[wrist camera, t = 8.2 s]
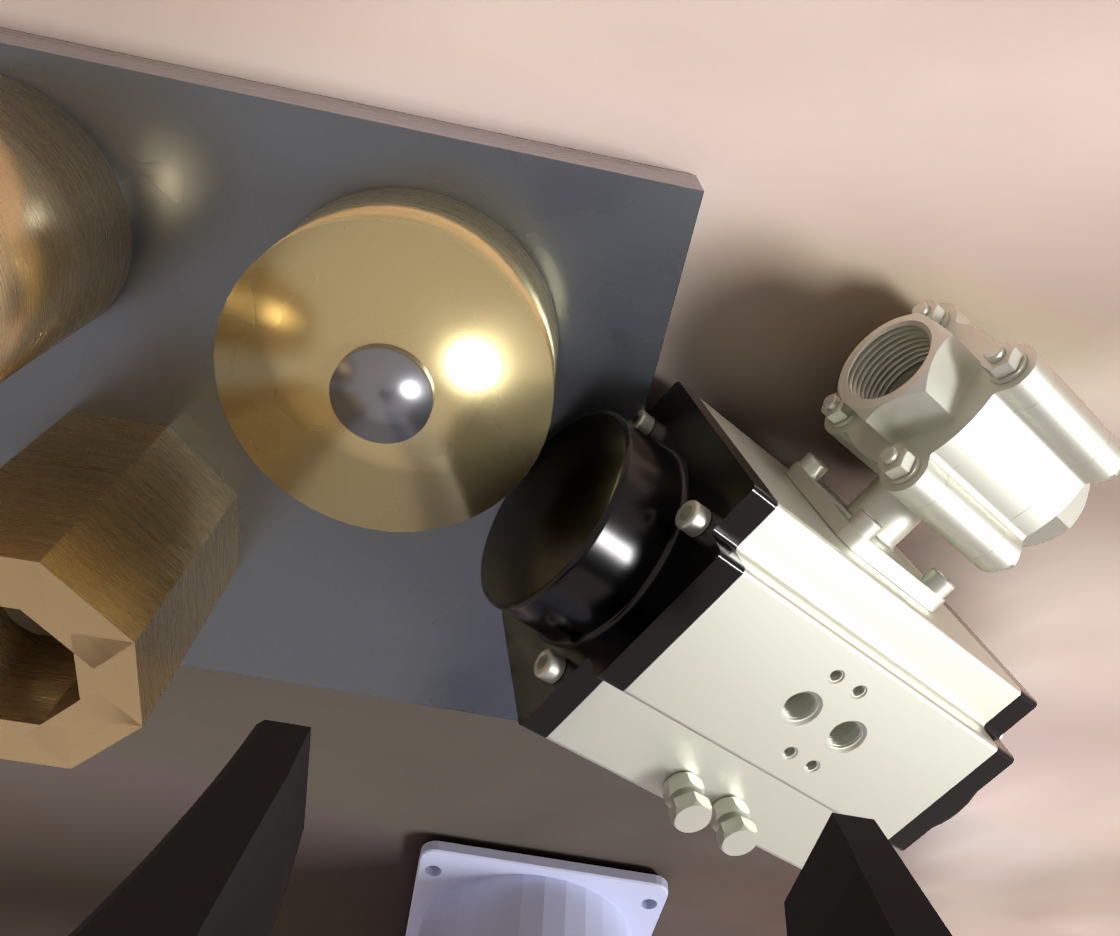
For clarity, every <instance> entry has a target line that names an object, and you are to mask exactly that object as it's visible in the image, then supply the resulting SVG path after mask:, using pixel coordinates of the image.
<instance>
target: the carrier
mask: <svg viewBox="0 0 1120 936" xmlns="http://www.w3.org/2000/svg"><path fill="white" fill-rule="evenodd" d="M703 193H704V190H703V188H702V186H701V185H700V183H699V181H698V179H697V177H696V175H692V174H688V173H683V172H678V171H673V170H669V169H664V168H659V167H655V166H650V165H645V164H640V163H636V162H631V161H626V160H622V159H617V158H612V157H608V156H603V155H598V154H593V153H589V152H584V151H579V150H575V149H570V148H565V147H560V146H556V145H551V144H546V143H542V142H537V141H532V140H528V139H523V138H518V137H513V136H509V135H504V134H499V133H495V132H490V131H485V130H480V129H476V128H471V127H466V126H462V125H457V124H452V123H448V122H443V121H438V120H433V119H429V118H424V117H419V116H415V115H410V114H405V113H400V112H396V111H391V110H386V109H382V108H377V107H372V106H368V105H363V104H358V103H353V102H349V101H344V100H339V99H335V98H330V97H325V96H320V95H316V94H311V93H306V92H302V91H297V90H292V89H288V88H283V87H278V86H273V85H269V84H264V83H259V82H255V81H250V80H245V79H240V78H236V77H231V76H226V75H222V74H217V73H212V72H208V71H203V70H198V69H193V68H189V67H184V66H179V65H175V64H170V63H165V62H160V61H156V60H151V59H146V58H142V57H137V56H132V55H128V54H123V53H118V52H113V51H109V50H104V49H99V48H95V47H90V46H85V45H80V44H76V43H71V42H66V41H62V40H57V39H52V38H48V37H43V36H38V35H33V34H29V33H24V32H19V31H15V30H10V29H5V28H0V466H1V465H2V464H3V463H5V462H6V461H7V460H8V459H10V458H11V457H12V456H13V455H15V454H16V453H17V452H18V451H20V450H21V449H22V448H24V447H25V446H26V445H27V444H29V443H30V442H31V441H32V440H34V439H35V438H36V437H37V436H39V435H40V434H41V433H43V432H44V431H45V430H46V429H48V428H49V427H50V426H51V425H53V424H54V423H55V422H57V421H58V420H59V419H60V418H62V417H63V416H64V415H65V414H67V413H68V412H69V411H70V410H75V411H81V412H87V413H93V414H99V415H104V416H110V417H116V418H122V419H128V420H134V421H140V422H146V423H152V424H158V425H164V426H169V427H170V428H171V429H172V430H173V431H174V432H175V433H176V434H177V435H178V436H179V437H180V438H181V439H182V440H183V441H184V442H185V443H186V444H187V445H188V446H189V447H190V448H191V449H192V450H193V451H194V452H195V453H196V454H197V455H198V456H199V457H200V458H201V459H202V460H203V461H204V462H205V463H206V464H207V465H208V466H209V467H210V468H211V469H212V470H214V471H215V472H216V473H217V474H218V475H219V476H220V477H221V478H222V479H223V480H224V481H225V482H226V483H227V484H228V485H229V486H230V487H231V488H232V489H233V490H234V491H235V492H236V493H237V494H238V559H239V568H238V569H237V571H236V573H235V574H234V576H233V578H232V579H231V581H230V583H229V584H228V586H227V588H226V589H225V591H224V593H223V594H222V596H221V598H220V599H219V601H218V603H217V604H216V606H215V608H214V609H213V611H212V612H211V614H210V616H209V617H208V619H207V621H206V622H205V624H204V626H203V627H202V629H201V631H200V632H199V634H198V636H197V637H196V639H195V641H194V642H193V644H192V646H191V647H190V649H189V651H188V652H187V654H186V655H185V657H184V659H183V660H182V662H181V664H180V665H186V666H192V667H198V668H204V669H210V670H216V671H222V672H228V673H234V674H240V675H246V676H252V677H258V678H264V679H270V680H276V681H282V682H288V683H294V684H300V685H306V686H312V687H318V688H324V689H330V690H336V691H342V692H348V693H354V694H360V695H366V696H372V697H378V698H384V699H390V700H396V701H402V702H408V703H414V704H420V705H426V706H432V707H438V708H444V709H450V710H456V711H462V712H468V713H474V714H480V715H486V716H492V717H498V718H504V719H510V720H516V721H518V715H517V709H516V702H515V696H514V689H513V683H512V676H511V670H510V663H509V657H508V650H507V644H506V637H505V631H504V624H503V618H502V611H501V610H499V609H498V608H496V607H494V606H493V605H492V604H491V603H490V602H489V601H488V599H487V598H486V596H485V595H484V592H483V589H482V585H481V561H482V555H483V550H484V547H485V543H486V539H487V537H488V534H489V531H490V528H491V526H492V523H493V521H494V518H495V516H496V514H497V512H498V510H499V508H500V506H501V504H502V502H503V500H504V498H505V497H506V496H507V495H508V494H509V493H510V492H511V491H512V490H514V489H515V488H516V486H517V485H518V484H519V483H520V482H521V481H522V480H523V478H524V477H525V476H526V475H527V474H528V472H529V470H530V469H531V467H532V466H533V464H534V463H535V461H536V460H537V458H538V456H539V453H540V451H541V449H542V447H543V446H544V445H545V444H546V443H547V442H548V441H549V440H550V439H551V438H552V437H553V436H555V435H556V434H557V433H558V432H559V431H561V430H562V429H563V428H565V427H566V426H567V425H569V424H570V423H572V422H573V421H575V420H577V419H578V418H580V417H582V416H585V415H587V414H590V413H593V412H597V411H612V412H615V413H617V414H619V415H621V416H623V417H624V418H625V419H627V420H628V421H630V420H631V421H632V422H633V423H634V424H635V423H636V422H637V420H638V418H639V415H637V413H638V412H639V411H640V410H645V406H646V403H647V399H648V395H649V392H650V388H651V384H652V381H653V377H654V373H655V370H656V366H657V362H658V359H659V355H660V351H661V347H662V344H663V340H664V336H665V333H666V329H667V325H668V322H669V318H670V314H671V311H672V307H673V303H674V300H675V296H676V292H677V289H678V285H679V281H680V278H681V274H682V270H683V267H684V263H685V259H686V256H687V252H688V248H689V245H690V241H691V237H692V234H693V230H694V226H695V223H696V219H697V215H698V211H699V208H700V204H701V200H702V197H703ZM4 609H5V611H6V612H7V614H8V615H9V616H10V618H11V619H12V620H13V621H15V622H16V623H17V624H18V625H20V626H21V627H23V628H24V629H26V630H28V631H31V632H33V633H36V634H40V635H47V636H52V635H51V634H50V633H48V632H47V631H46V630H45V629H43V628H42V627H41V626H40V625H38V624H37V623H36V622H35V621H33V620H32V619H31V618H30V617H29V616H27V615H26V614H25V613H24V612H22V611H21V610H20V609H14V608H7V607H4Z"/></svg>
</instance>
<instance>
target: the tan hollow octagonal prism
mask: <svg viewBox="0 0 1120 936" xmlns="http://www.w3.org/2000/svg"><path fill="white" fill-rule="evenodd" d="M238 568H239V559H238V494H237V493H236V492H235V491H234V490H233V489H232V488H231V487H230V486H229V485H228V484H227V483H226V482H225V481H224V480H223V479H222V478H221V477H220V476H219V475H218V474H217V473H216V472H215V471H214V470H212V469H211V468H210V467H209V466H208V465H207V464H206V463H205V462H204V461H203V460H202V459H201V458H200V457H199V456H198V455H197V454H196V453H195V452H194V451H193V450H192V449H191V448H190V447H189V446H188V445H187V444H186V443H185V442H184V441H183V440H182V439H181V438H180V437H179V436H178V435H177V434H176V433H175V432H174V431H173V430H172V429H171V428H170V427H169V426H164V425H158V424H152V423H146V422H140V421H134V420H128V419H122V418H116V417H110V416H104V415H99V414H93V413H87V412H81V411H75V410H70V411H69V412H68V413H67V414H65V415H64V416H63V417H62V418H60V419H59V420H58V421H57V422H55V423H54V424H53V425H51V426H50V427H49V428H48V429H46V430H45V431H44V432H43V433H41V434H40V435H39V436H37V437H36V438H35V439H34V440H32V441H31V442H30V443H29V444H27V445H26V446H25V447H24V448H22V449H21V450H20V451H18V452H17V453H16V454H15V455H13V456H12V457H11V458H10V459H8V460H7V461H6V462H5V463H3V464H2V465H1V466H0V759H7V760H14V761H21V762H28V763H35V764H42V765H49V766H56V767H63V768H70V769H71V768H73V767H75V766H76V765H78V764H80V763H82V762H83V761H85V760H87V759H88V758H90V757H92V756H93V755H95V754H97V753H99V752H100V751H102V750H104V749H105V748H107V747H109V746H110V745H112V744H114V743H115V742H117V741H119V740H121V739H122V738H124V737H126V736H127V735H129V734H131V733H132V732H134V731H136V730H138V729H139V728H141V727H143V725H144V723H145V722H146V720H147V718H148V717H149V715H150V713H151V712H152V710H153V708H154V707H155V705H156V703H157V702H158V700H159V698H160V697H161V695H162V694H163V692H164V690H165V689H166V687H167V685H168V684H169V682H170V680H171V679H172V677H173V675H174V674H175V672H176V670H177V669H178V667H179V665H180V664H181V662H182V660H183V659H184V657H185V655H186V654H187V652H188V651H189V649H190V647H191V646H192V644H193V642H194V641H195V639H196V637H197V636H198V634H199V632H200V631H201V629H202V627H203V626H204V624H205V622H206V621H207V619H208V617H209V616H210V614H211V612H212V611H213V609H214V608H215V606H216V604H217V603H218V601H219V599H220V598H221V596H222V594H223V593H224V591H225V589H226V588H227V586H228V584H229V583H230V581H231V579H232V578H233V576H234V574H235V573H236V571H237V569H238ZM4 607H7V608H14V609H20V610H21V611H22V612H24V613H25V614H26V615H27V616H29V617H30V618H31V619H32V620H33V621H35V622H36V623H37V624H38V625H40V626H41V627H42V628H43V629H45V630H46V631H47V632H48V633H50V634H51V635H52V636H47V635H40V634H36V633H33V632H31V631H28V630H26V629H24V628H23V627H21V626H20V625H18V624H17V623H16V622H15V621H13V620H12V619H11V618H10V616H9V615H8V614H7V612H6V611H5V609H4Z"/></svg>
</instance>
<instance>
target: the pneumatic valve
mask: <svg viewBox="0 0 1120 936" xmlns="http://www.w3.org/2000/svg"><path fill="white" fill-rule="evenodd" d="M821 412H822V413H823V414H824V415H825V416H826V418H825V422H824V425H825V429H826V430H827V432H828V433H830V434H831V435H832V436H833V437H834V438H836V439H837V440H838V441H839V442H840V443H841V444H843V445H844V446H845V447H846V448H847V449H848V450H850V451H851V452H852V453H853V454H854V455H855V456H857V457H858V458H859V459H860V460H861V461H862V462H864V463H865V464H866V465H867V466H868V467H869V468H871V469H872V470H873V471H874V472H875V473H877V474H878V475H879V476H878V477H877V478H875V479H874V480H873V481H872V482H871V483H870V484H869V485H868V486H867V487H866V488H865V489H864V490H863V491H862V492H861V493H860V494H859V495H858V496H857V497H856V498H855V499H854V500H853V501H852V502H851V503H849V502H848V501H846V500H845V499H844V498H843V497H841V496H840V495H839V494H838V493H837V492H835V491H834V490H833V489H832V488H830V487H829V486H828V485H827V484H826V483H824V482H823V481H822V480H821V479H820V478H821V477H822V476H823V475H824V474H825V473H826V472H827V471H828V467H827V466H826V465H825V464H824V463H823V462H822V461H821V460H820V459H819V458H817V457H816V456H815V455H814V454H813V453H811V452H808V453H807V454H806V455H805V456H804V457H803V458H802V459H801V460H800V461H799V462H798V461H796V462H795V463H794V464H793V465H792V466H791V467H790V468H789V469H788V468H786V467H785V466H784V465H783V464H781V463H780V462H779V461H778V460H776V459H775V458H774V457H773V456H771V455H770V454H769V453H768V452H766V451H765V450H764V449H763V448H761V447H760V446H759V445H758V444H756V443H755V442H754V441H753V440H751V439H750V438H749V437H748V436H746V435H745V434H744V433H743V432H741V431H740V430H739V429H738V428H737V427H735V426H734V425H733V424H732V423H730V422H729V421H728V420H727V419H725V418H724V417H723V416H722V415H720V414H719V413H718V412H717V411H715V410H714V409H713V408H712V407H710V406H709V405H708V404H707V403H705V402H704V401H703V400H702V399H700V398H699V397H698V396H697V395H695V394H694V393H693V392H692V391H690V390H689V389H688V388H687V387H685V386H684V385H683V384H682V383H680V382H679V381H678V382H676V383H675V384H674V385H673V386H672V387H671V388H670V389H669V390H668V392H667V393H666V394H665V395H664V396H663V397H662V398H661V399H660V400H659V402H658V403H657V404H656V405H655V406H654V407H653V408H652V409H651V410H650V411H649V413H647V412H645V411H644V410H640V411H639V412H638V413H637V415H639V418H638V420H637V422H636V423H635V424H634V423H633V422H632V421H631V420H630V421H628V420H627V419H625V418H624V417H623V416H621V415H619V414H617V413H615V412H612V411H597V412H593V413H590V414H587V415H585V416H582V417H580V418H578V419H577V420H575V421H573V422H572V423H570V424H569V425H567V426H566V427H565V428H563V429H562V430H561V431H559V432H558V433H557V434H556V435H555V436H553V437H552V438H551V439H550V440H549V441H548V442H547V443H546V444H545V445H544V446H543V447H542V449H541V451H540V453H539V456H538V458H537V460H536V461H535V463H534V464H533V466H532V467H531V469H530V470H529V472H528V474H527V475H526V476H525V477H524V478H523V480H522V481H521V482H520V483H519V484H518V485H517V486H516V488H515V489H514V490H512V491H511V492H510V493H509V494H508V495H507V496H506V497H505V498H504V500H503V502H502V504H501V506H500V508H499V510H498V512H497V514H496V516H495V518H494V521H493V523H492V526H491V528H490V531H489V534H488V537H487V539H486V543H485V547H484V550H483V555H482V561H481V585H482V589H483V592H484V595H485V596H486V598H487V599H488V601H489V602H490V603H491V604H492V605H493V606H494V607H496V608H498V609H499V610H501V611H502V618H503V624H504V631H505V637H506V644H507V650H508V657H509V663H510V670H511V676H512V683H513V689H514V696H515V702H516V709H517V715H518V722H519V724H520V725H521V726H523V727H525V728H527V729H529V730H531V731H533V732H535V733H537V734H539V735H541V736H543V737H545V738H547V739H549V740H551V741H553V742H554V743H556V744H558V745H560V746H562V747H564V748H566V749H568V750H570V751H572V752H574V753H576V754H578V755H580V756H582V757H584V758H586V759H588V760H590V761H591V762H593V763H595V764H597V765H599V766H601V767H603V768H605V769H607V770H609V771H611V772H613V773H615V774H617V775H619V776H621V777H623V778H625V779H626V780H628V781H630V782H632V783H634V784H636V785H638V786H640V787H642V788H644V789H646V790H648V791H650V792H652V793H654V794H656V795H658V796H660V797H661V798H663V799H664V802H665V804H666V805H667V806H668V807H669V808H670V810H669V813H668V815H669V818H670V821H671V823H672V824H673V825H674V826H675V827H676V828H677V829H678V830H680V831H682V832H686V833H690V832H696V831H699V830H701V829H703V828H704V827H705V826H707V825H708V823H709V822H710V825H711V827H712V828H713V829H714V830H715V831H716V832H717V834H716V837H715V839H716V841H717V844H718V847H719V848H720V849H721V850H722V851H723V852H724V853H726V854H728V855H731V856H739V855H743V854H746V853H748V852H749V851H751V850H752V849H753V848H754V847H755V846H757V847H759V848H761V849H763V850H765V851H767V852H768V853H770V854H772V855H774V856H776V857H778V858H780V859H782V860H784V861H786V862H788V863H790V864H792V865H794V866H796V867H798V868H800V869H802V868H803V866H804V864H805V862H806V861H807V859H808V857H809V855H810V853H811V851H812V849H813V847H814V845H815V844H816V842H817V840H818V838H819V836H820V834H821V832H822V830H823V828H824V827H825V825H826V823H827V821H828V819H829V817H830V815H831V813H838V814H844V815H850V816H856V817H862V818H869V819H874V820H875V821H876V823H877V824H878V826H879V827H880V829H881V830H882V831H883V833H884V834H885V836H886V837H887V839H888V840H889V842H890V843H891V845H892V846H894V847H896V848H898V849H899V850H905V849H906V848H907V847H909V846H910V845H911V844H912V843H914V842H915V841H916V840H917V839H919V838H920V837H921V836H922V835H924V834H925V833H926V832H927V831H929V830H930V829H931V828H932V827H935V826H937V825H939V824H942V823H943V822H945V821H947V820H949V819H950V818H952V817H953V816H954V815H956V814H957V813H958V812H959V811H960V810H961V809H963V808H964V807H965V806H966V805H967V804H968V803H969V802H970V800H971V799H972V798H973V796H974V795H975V794H976V793H977V791H978V790H980V789H981V788H982V787H983V786H985V785H986V784H987V783H988V782H990V781H991V780H992V779H993V778H995V777H996V776H997V775H998V774H1000V773H1001V772H1002V771H1003V770H1005V769H1006V768H1007V767H1008V766H1010V765H1011V764H1012V763H1013V761H1014V758H1013V756H1012V755H1011V754H1010V752H1009V751H1008V750H1007V749H1006V747H1005V746H1004V745H1003V744H1002V743H1001V741H1000V740H1001V738H1002V737H1003V733H1005V732H1006V731H1007V730H1008V729H1010V728H1011V727H1012V726H1013V725H1014V724H1016V723H1017V722H1018V721H1019V720H1021V719H1022V718H1023V717H1024V716H1025V715H1027V714H1028V713H1029V712H1030V711H1032V710H1033V709H1034V708H1035V707H1036V705H1037V702H1036V701H1035V700H1034V698H1033V697H1032V696H1031V695H1030V694H1029V693H1028V692H1027V691H1026V690H1025V689H1024V687H1023V686H1022V685H1021V684H1020V683H1019V682H1018V681H1017V680H1016V679H1015V678H1014V677H1013V675H1012V674H1011V673H1010V672H1009V671H1008V670H1007V669H1006V668H1005V667H1004V666H1003V664H1002V663H1001V662H1000V661H999V660H998V659H997V658H996V657H995V656H994V655H993V653H992V652H991V651H990V650H989V649H988V648H987V647H986V646H985V645H984V644H983V643H982V641H981V640H980V639H979V638H978V637H977V636H976V635H975V634H974V633H973V632H972V630H971V629H970V628H969V627H968V626H967V625H966V624H965V623H964V622H963V621H962V619H961V618H960V617H959V616H958V615H957V614H956V613H955V612H954V611H953V610H952V608H951V607H950V606H949V605H948V604H947V603H946V602H945V599H944V598H945V597H946V596H947V595H948V594H949V593H950V592H951V591H953V590H954V588H955V586H954V585H953V584H952V583H951V581H950V580H949V579H947V578H946V577H945V576H944V575H943V574H942V573H941V572H940V571H939V570H937V569H936V568H932V569H931V570H930V571H929V572H928V573H927V574H926V575H925V576H923V575H922V574H921V573H920V572H919V571H918V570H917V568H916V567H915V566H914V565H913V564H912V563H911V562H910V561H909V560H908V559H907V558H906V556H905V555H904V554H903V553H902V552H901V551H900V550H899V549H898V548H897V547H896V544H897V543H898V542H900V541H901V540H902V539H903V538H904V537H905V536H906V535H907V534H908V533H909V532H910V531H911V530H912V529H913V528H914V527H916V526H917V525H918V524H919V523H920V522H921V521H923V522H925V523H926V524H927V525H928V526H929V527H930V528H932V529H933V530H934V531H935V532H936V533H938V534H939V535H940V536H941V537H942V538H943V539H945V540H946V541H947V542H948V543H949V544H951V545H952V546H953V547H954V548H955V549H956V550H958V551H959V552H960V553H961V554H962V555H964V556H965V557H966V558H967V559H968V560H969V561H971V562H972V563H973V564H974V565H975V566H977V567H978V568H979V569H980V570H982V571H985V572H998V571H1002V570H1006V569H1009V568H1012V567H1014V566H1015V565H1016V564H1017V562H1018V560H1019V557H1020V554H1021V549H1022V547H1027V546H1032V545H1036V544H1040V543H1043V542H1046V541H1048V540H1051V539H1053V538H1055V537H1057V536H1059V535H1060V534H1062V533H1064V532H1065V531H1066V530H1068V529H1069V528H1070V527H1071V526H1072V525H1073V524H1074V523H1075V521H1076V520H1077V519H1078V517H1079V515H1080V514H1081V512H1082V510H1083V508H1084V506H1085V503H1086V500H1087V496H1088V492H1089V487H1090V483H1094V482H1098V483H1100V482H1104V481H1108V480H1110V479H1113V478H1115V477H1116V476H1117V475H1118V473H1119V471H1120V441H1119V440H1118V439H1117V438H1116V437H1115V436H1114V435H1113V434H1112V433H1111V432H1110V431H1109V430H1108V428H1107V427H1106V426H1105V425H1104V424H1103V423H1102V422H1101V421H1100V420H1099V419H1098V418H1097V416H1096V415H1095V414H1094V413H1093V412H1092V411H1091V410H1090V409H1089V408H1088V407H1087V406H1086V405H1085V403H1084V402H1083V401H1082V400H1081V399H1080V398H1079V397H1078V396H1077V395H1076V394H1075V393H1074V391H1073V390H1072V389H1071V388H1070V387H1069V386H1068V385H1067V384H1066V383H1065V382H1064V381H1063V380H1062V378H1061V377H1060V376H1059V375H1058V374H1057V373H1056V372H1055V371H1054V370H1053V369H1052V368H1051V367H1050V365H1049V364H1048V363H1047V362H1046V361H1045V360H1044V359H1043V358H1042V357H1041V356H1040V355H1039V353H1038V352H1037V351H1036V350H1035V349H1034V348H1033V347H1031V346H1030V345H1026V344H1016V345H1011V344H1010V343H1008V342H1006V341H1002V342H999V343H997V342H996V341H995V340H994V339H993V338H992V337H991V336H989V335H988V334H987V333H985V332H984V331H982V330H980V329H978V328H976V327H974V326H973V325H972V324H971V322H970V321H969V320H968V319H967V318H966V317H965V316H964V315H963V314H962V313H961V312H960V311H959V310H958V309H957V308H956V307H955V306H954V305H953V304H951V303H942V304H936V303H935V302H933V301H931V300H928V301H926V302H921V303H919V304H917V305H916V306H915V307H914V308H913V310H912V314H910V315H905V316H901V317H898V318H895V319H893V320H891V321H889V322H887V323H885V324H883V325H881V326H880V327H878V328H877V329H875V330H874V331H873V332H871V333H870V334H869V335H868V336H866V337H865V338H864V339H863V340H862V341H861V342H860V343H859V344H858V345H857V347H856V348H855V349H854V350H853V352H852V353H851V354H850V356H849V357H848V359H847V360H846V362H845V364H844V366H843V368H842V371H841V374H840V377H839V382H838V387H837V393H834V394H831V395H828V396H827V397H826V398H825V399H824V402H823V406H822V409H821Z"/></svg>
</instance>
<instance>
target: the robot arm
mask: <svg viewBox="0 0 1120 936" xmlns="http://www.w3.org/2000/svg"><path fill="white" fill-rule="evenodd" d="M310 735H311V727H306V726H300V725H294V724H288V723H282V722H276V721H269V720H264V721H262V722H260V723H258V724H257V725H256V726H255V727H254V729H253V730H252V731H251V733H250V734H249V736H248V737H247V738H246V740H245V741H244V743H243V744H242V745H241V746H240V748H239V749H238V750H237V752H236V753H235V754H234V756H233V757H232V758H231V760H230V761H229V762H228V763H227V765H226V766H225V767H224V768H223V770H222V771H221V772H220V773H219V775H218V776H217V777H216V778H215V780H214V781H213V782H212V783H211V784H210V786H209V787H208V788H207V789H206V790H205V792H204V793H203V794H202V795H201V796H200V797H199V799H198V800H197V801H196V802H195V803H194V805H193V806H192V807H191V808H190V809H189V810H188V811H187V813H186V814H185V815H184V816H183V817H182V818H181V819H180V820H179V822H178V823H177V824H176V825H175V826H174V827H173V828H172V829H171V830H170V832H169V833H168V834H167V835H166V836H165V837H164V838H163V839H162V840H161V842H160V843H159V844H158V845H157V846H156V847H155V848H154V849H153V850H152V852H151V853H150V854H149V855H148V856H147V857H146V858H145V859H144V860H143V861H142V862H141V863H140V865H139V866H138V867H137V868H136V869H135V870H134V871H133V872H132V873H131V874H130V875H129V876H128V877H127V878H126V879H125V880H124V881H123V882H122V883H121V884H120V885H119V886H118V887H117V888H116V889H115V890H114V891H113V892H112V893H111V894H110V895H109V896H108V897H107V898H106V899H105V900H104V901H103V902H102V903H101V904H100V905H99V906H98V907H97V908H96V909H95V910H94V911H93V912H92V913H91V914H90V915H89V916H88V917H87V918H86V919H85V920H84V921H83V922H82V923H81V924H80V925H79V926H78V927H77V928H76V929H75V930H74V931H73V932H72V933H71V934H70V935H69V936H269V934H270V931H271V929H272V926H273V924H274V921H275V919H276V916H277V914H278V911H279V909H280V906H281V903H282V900H283V896H284V893H285V890H286V886H287V883H288V880H289V877H290V873H291V870H292V866H293V863H294V860H295V856H296V853H297V849H298V846H299V842H300V839H301V836H302V832H303V829H304V818H305V805H306V791H307V777H308V763H309V749H310ZM667 896H668V884H667V882H666V880H665V879H664V878H662V877H661V876H658V875H654V874H648V873H642V872H635V871H629V870H622V869H616V868H610V867H603V866H597V865H590V864H584V863H578V862H571V861H565V860H558V859H552V858H546V857H539V856H533V855H526V854H520V853H514V852H507V851H501V850H494V849H488V848H482V847H475V846H469V845H462V844H456V843H450V842H443V841H430V842H427V843H425V844H424V845H423V846H422V848H421V852H420V857H419V863H418V868H417V874H416V879H415V885H414V891H413V896H412V902H411V907H410V913H409V919H408V924H407V930H406V935H405V936H651V935H652V932H653V930H654V927H655V925H656V923H657V920H658V918H659V916H660V913H661V911H662V908H663V906H664V904H665V901H666V899H667ZM784 904H785V916H786V928H787V936H952V935H951V933H950V932H949V930H948V929H947V927H946V926H945V924H944V923H943V921H942V920H941V918H940V917H939V915H938V914H937V912H936V911H935V909H934V908H933V906H932V905H931V904H930V902H929V901H928V899H927V898H926V896H925V895H924V893H923V892H922V890H921V889H920V887H919V886H918V884H917V883H916V881H915V880H914V878H913V877H912V875H911V874H910V872H909V871H908V869H907V867H906V866H905V864H904V863H903V861H902V860H901V858H900V857H899V855H898V854H897V852H896V851H895V849H894V848H893V846H892V845H891V843H890V842H889V840H888V839H887V837H886V836H885V834H884V833H883V831H882V830H881V829H880V827H879V826H878V824H877V823H876V821H875V820H874V819H869V818H862V817H856V816H850V815H844V814H838V813H831V815H830V817H829V819H828V821H827V823H826V825H825V827H824V828H823V830H822V832H821V834H820V836H819V838H818V840H817V842H816V844H815V845H814V847H813V849H812V851H811V853H810V855H809V857H808V859H807V861H806V862H805V864H804V866H803V868H802V870H801V872H800V874H799V876H798V878H797V879H796V881H795V883H794V885H793V887H792V889H791V891H790V893H789V894H788V896H787V898H786V900H785V902H784Z"/></svg>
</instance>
